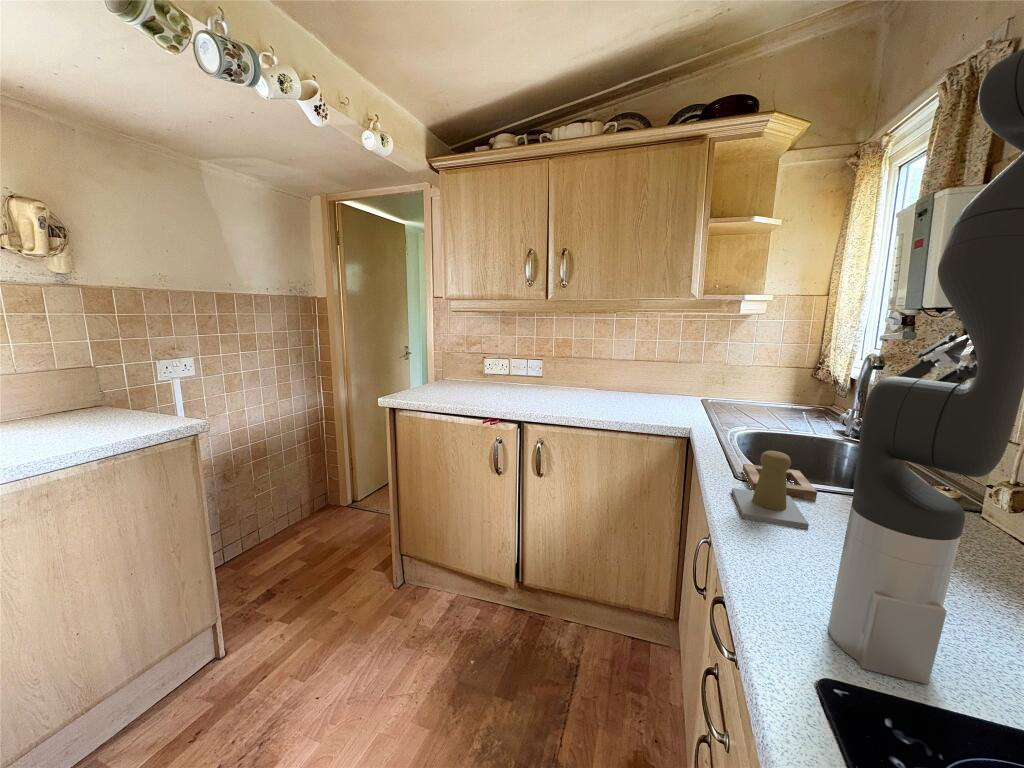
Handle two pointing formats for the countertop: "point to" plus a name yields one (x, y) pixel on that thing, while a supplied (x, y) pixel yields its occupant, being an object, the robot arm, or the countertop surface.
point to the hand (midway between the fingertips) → (917, 384)
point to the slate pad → (755, 512)
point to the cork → (772, 481)
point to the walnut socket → (797, 490)
